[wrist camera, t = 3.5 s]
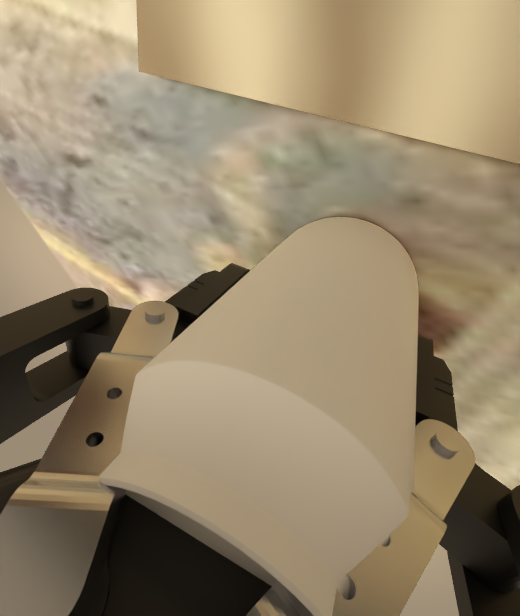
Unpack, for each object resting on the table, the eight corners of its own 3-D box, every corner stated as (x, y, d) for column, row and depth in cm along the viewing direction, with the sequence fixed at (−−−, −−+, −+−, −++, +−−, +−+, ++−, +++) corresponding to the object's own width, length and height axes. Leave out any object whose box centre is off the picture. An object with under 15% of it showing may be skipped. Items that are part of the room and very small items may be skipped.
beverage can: (447, 233, 12) (530, 674, 3) (387, 356, 15) (331, 734, 6) (291, 194, 14) (-7, 377, 4) (269, 313, 17) (79, 558, 8)
